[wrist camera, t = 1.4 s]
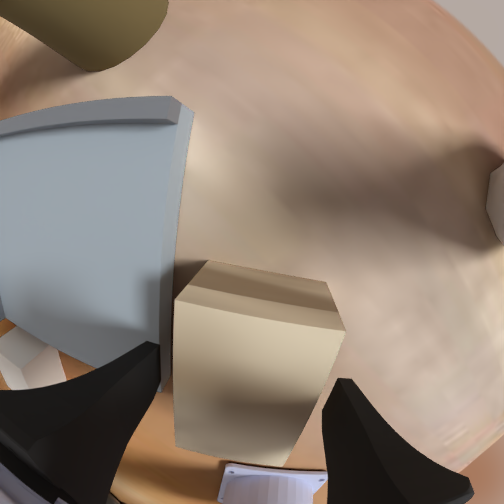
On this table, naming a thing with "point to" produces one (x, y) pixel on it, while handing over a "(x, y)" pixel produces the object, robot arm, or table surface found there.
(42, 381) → the white cube
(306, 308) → the block
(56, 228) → the dock
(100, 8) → the pepper shaker
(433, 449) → the table surface
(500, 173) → the salt shaker
